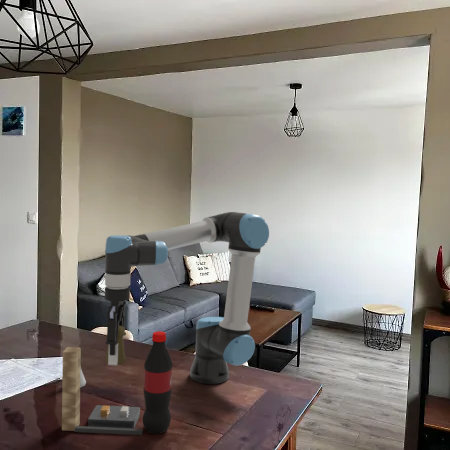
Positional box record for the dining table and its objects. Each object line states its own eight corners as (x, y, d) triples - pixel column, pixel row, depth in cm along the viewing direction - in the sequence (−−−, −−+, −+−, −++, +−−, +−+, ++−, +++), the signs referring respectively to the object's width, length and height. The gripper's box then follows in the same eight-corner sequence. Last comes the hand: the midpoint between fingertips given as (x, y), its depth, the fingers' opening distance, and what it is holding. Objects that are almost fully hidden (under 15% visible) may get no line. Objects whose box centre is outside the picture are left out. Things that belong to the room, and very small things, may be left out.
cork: (101, 361, 145) (102, 326, 144) (117, 356, 150) (118, 322, 149) (113, 366, 141) (114, 330, 140) (129, 361, 146) (130, 326, 145)
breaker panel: (139, 414, 152) (140, 402, 152) (134, 429, 143) (134, 416, 143) (96, 412, 152) (96, 400, 152) (87, 427, 143) (88, 414, 143)
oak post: (79, 424, 145) (80, 347, 142) (75, 430, 141) (76, 352, 138) (66, 423, 145) (67, 347, 142) (61, 430, 141) (62, 351, 138)
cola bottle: (171, 422, 148) (174, 328, 145) (169, 436, 140) (172, 337, 137) (144, 421, 148) (146, 327, 145) (140, 435, 139) (143, 336, 137)
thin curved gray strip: (142, 432, 141) (142, 429, 141) (142, 435, 140) (142, 431, 140) (75, 429, 141) (76, 425, 141) (74, 431, 140) (74, 428, 140)
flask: (79, 390, 167) (80, 363, 166) (61, 388, 169) (61, 360, 168) (89, 382, 174) (90, 356, 173) (71, 379, 176) (72, 353, 175)
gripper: (112, 279, 153) (111, 349, 155) (96, 293, 134) (94, 372, 136) (136, 280, 153) (134, 350, 155) (122, 294, 134) (120, 373, 136)
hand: (115, 360), depth 146 cm, fingers closed on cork, 6 cm apart
